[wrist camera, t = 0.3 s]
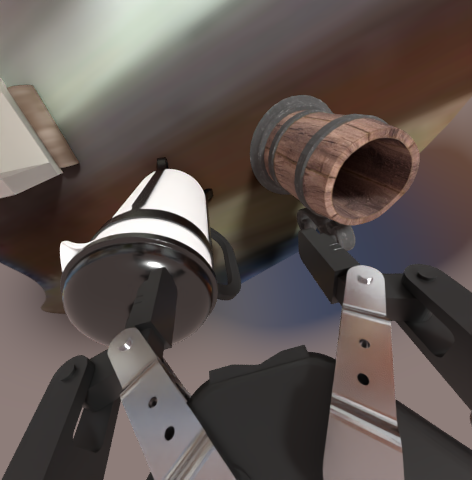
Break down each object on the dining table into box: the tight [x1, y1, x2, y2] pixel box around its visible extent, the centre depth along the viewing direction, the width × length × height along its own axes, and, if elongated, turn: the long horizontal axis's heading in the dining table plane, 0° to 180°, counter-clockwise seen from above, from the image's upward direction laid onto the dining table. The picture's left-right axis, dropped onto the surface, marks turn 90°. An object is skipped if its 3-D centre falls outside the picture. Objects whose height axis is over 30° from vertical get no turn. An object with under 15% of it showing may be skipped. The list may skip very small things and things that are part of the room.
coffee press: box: [60, 157, 241, 347], centre depth 26 cm, size 17×16×30 cm
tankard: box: [250, 95, 419, 251], centre depth 31 cm, size 24×17×20 cm
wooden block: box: [7, 85, 79, 168], centre depth 29 cm, size 10×3×3 cm, turn 10°
